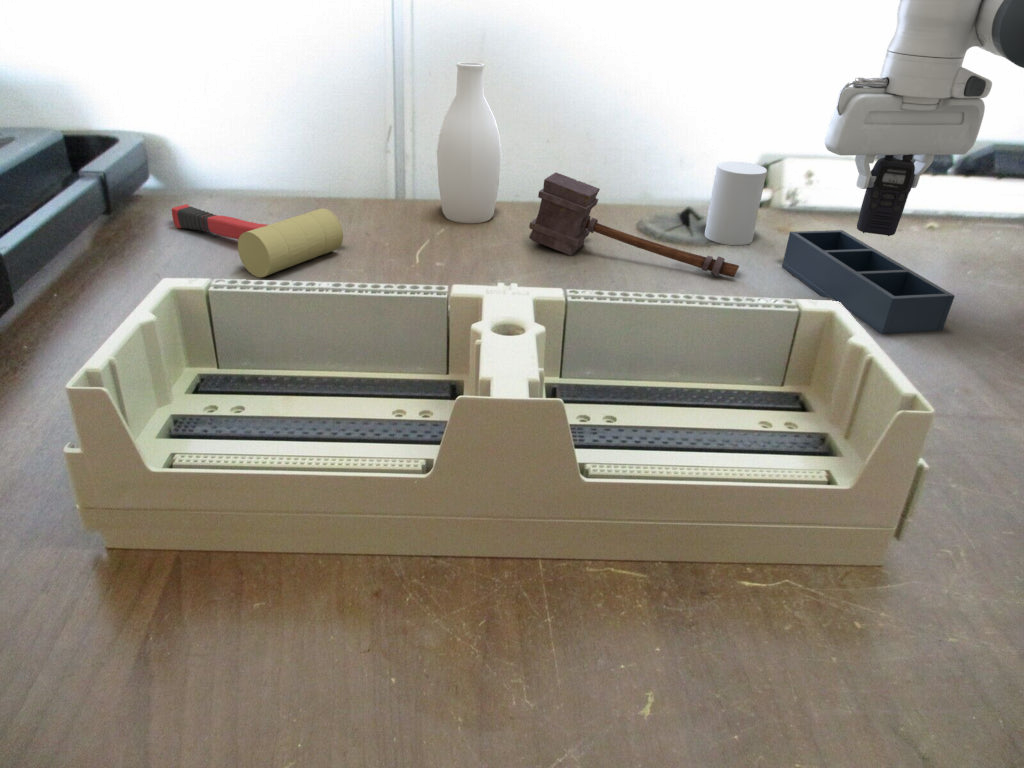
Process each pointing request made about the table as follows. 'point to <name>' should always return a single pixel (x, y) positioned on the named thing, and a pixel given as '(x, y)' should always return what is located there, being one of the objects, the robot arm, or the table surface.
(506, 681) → the table surface
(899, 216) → the two-way radio
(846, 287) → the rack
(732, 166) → the white cylinder
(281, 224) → the mallet
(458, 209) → the bottle
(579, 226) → the hammer
